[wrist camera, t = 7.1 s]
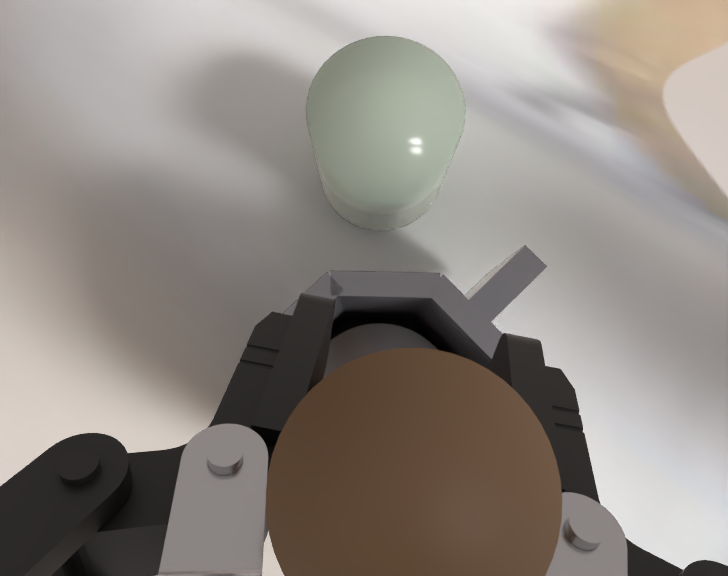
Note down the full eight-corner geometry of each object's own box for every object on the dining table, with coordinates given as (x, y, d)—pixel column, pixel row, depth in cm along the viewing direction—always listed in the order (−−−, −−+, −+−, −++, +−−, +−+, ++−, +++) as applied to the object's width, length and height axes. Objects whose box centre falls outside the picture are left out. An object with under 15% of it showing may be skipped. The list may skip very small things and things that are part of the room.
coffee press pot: (424, 227, 32) (456, 151, 21) (548, 351, 31) (654, 343, 20) (250, 391, 31) (182, 406, 19) (374, 526, 30) (379, 626, 18)
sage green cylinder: (382, 91, 33) (387, 6, 25) (466, 173, 33) (498, 112, 25) (295, 170, 33) (273, 107, 25) (379, 255, 32) (383, 219, 24)
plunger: (381, 293, 25) (417, 120, 7) (488, 404, 25) (811, 505, 7) (270, 399, 25) (19, 486, 7) (377, 515, 24) (408, 953, 6)
